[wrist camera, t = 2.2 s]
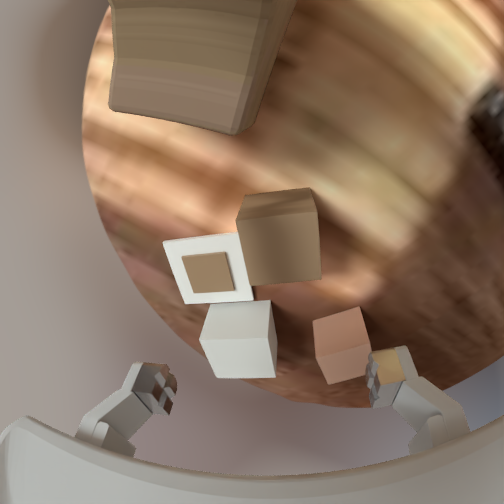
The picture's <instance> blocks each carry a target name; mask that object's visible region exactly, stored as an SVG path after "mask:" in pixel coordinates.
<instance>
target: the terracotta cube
mask: <svg viewBox="0 0 504 504" xmlns="http://www.w3.org/2000/svg"><path fill="white" fill-rule="evenodd" d="M313 330H314V341H315V353H316V360H317V362H318V364H319V366H320V368H321V370H322V372H323V374H324V376H325V378H326V380H327V383H328V385H329V384H333V383H337V382H341V381H345V380H348V379H352V378H355V377H359V376H362V375H365V370H366V365H367V364H368V363H369V361H368V355H369V353H370V352H372V350H371V346H370V341H369V338H368V334H367V330H366V327H365V323H364V320H363V317H362V313H361V310H360V306H359V307H356V308H353V309H350V310H347V311H343V312H340V313H337V314H334V315H331V316H327V317H324V318H321V319H317V320H314V321H313Z"/></svg>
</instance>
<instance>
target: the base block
mask: <svg viewBox="0 0 504 504" xmlns="http://www.w3.org/2000/svg"><path fill="white" fill-rule="evenodd" d="M199 340H200V343H201V345H202V347H203V349H204V352H205V354H206V356H207V358H208V360H209V362H210V364H211V367H212V369H213V371H214V373H215V375H216V377H217V378H272V377H276V363H277V336H276V330H275V324H274V318H273V313H272V307H271V301H270V300H266V301H253V302H238V303H221V304H211V305H210V308H209V311H208V314H207V317H206V320H205V323H204V326H203V329H202V332H201V335H200V338H199Z"/></svg>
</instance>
